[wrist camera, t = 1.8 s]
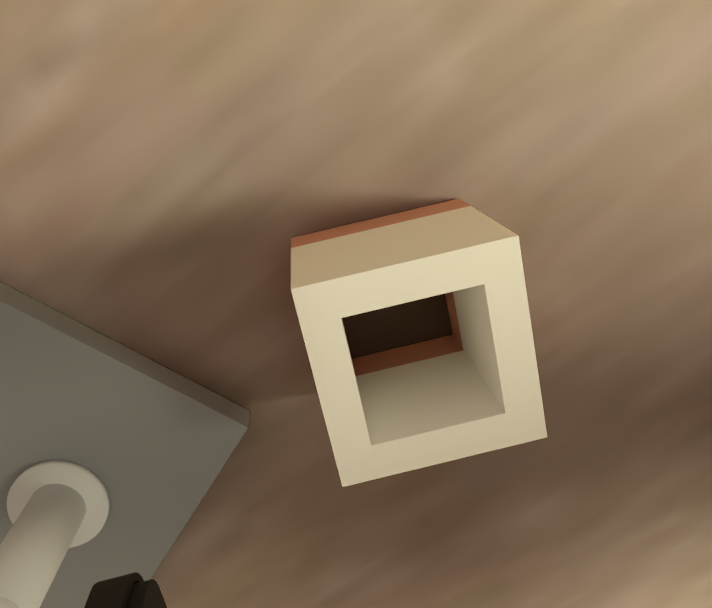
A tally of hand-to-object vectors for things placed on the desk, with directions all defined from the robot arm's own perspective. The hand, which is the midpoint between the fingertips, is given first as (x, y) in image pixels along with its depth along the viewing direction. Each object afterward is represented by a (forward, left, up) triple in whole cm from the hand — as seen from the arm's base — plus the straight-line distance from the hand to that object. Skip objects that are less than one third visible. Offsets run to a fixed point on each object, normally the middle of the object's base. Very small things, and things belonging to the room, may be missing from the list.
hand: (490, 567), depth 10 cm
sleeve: (-1, 0, -14) cm, 14 cm away
